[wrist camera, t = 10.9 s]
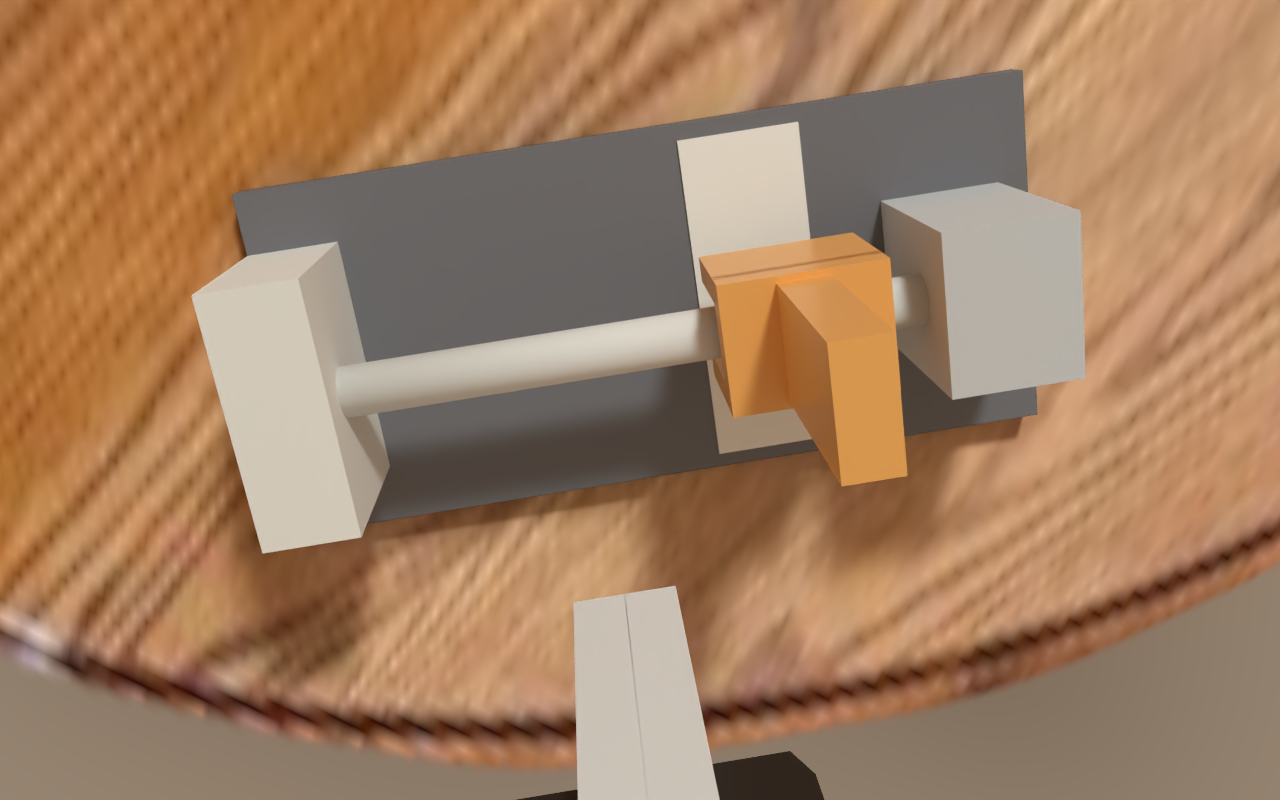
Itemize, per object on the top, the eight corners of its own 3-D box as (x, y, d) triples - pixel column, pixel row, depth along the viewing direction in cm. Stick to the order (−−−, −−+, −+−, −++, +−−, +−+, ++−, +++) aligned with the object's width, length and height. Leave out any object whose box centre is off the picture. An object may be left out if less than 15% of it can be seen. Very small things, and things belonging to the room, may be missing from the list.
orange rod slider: (714, 375, 38) (772, 505, 28) (698, 257, 37) (753, 346, 26) (863, 351, 38) (978, 472, 28) (852, 232, 37) (967, 311, 26)
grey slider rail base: (323, 520, 42) (274, 620, 35) (240, 191, 38) (165, 227, 31) (1026, 405, 42) (1120, 481, 35) (1011, 69, 39) (1112, 77, 31)
